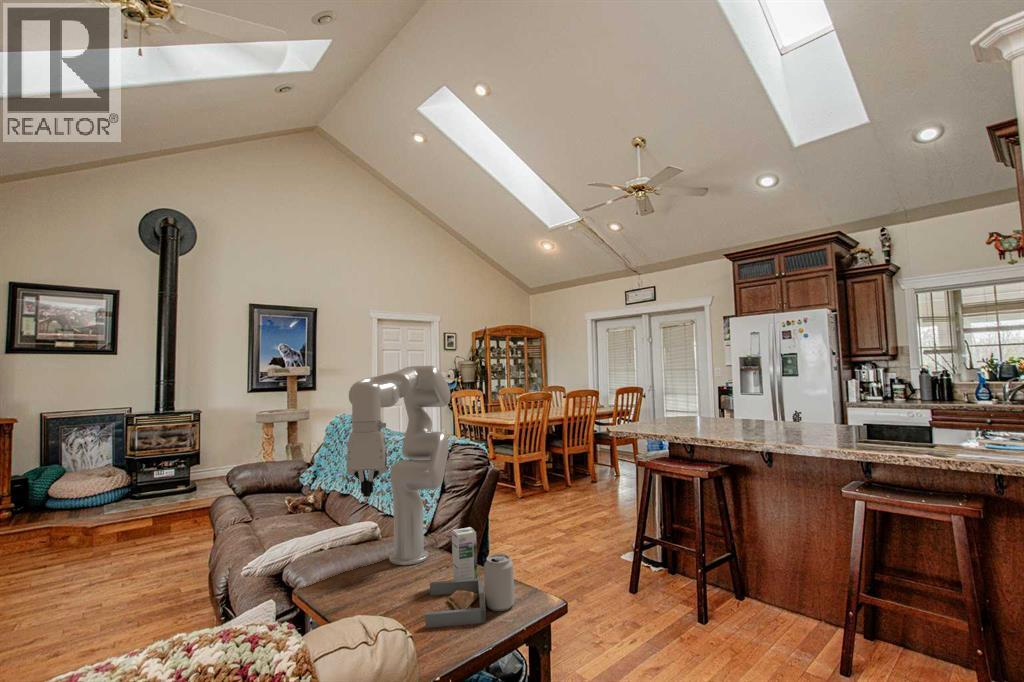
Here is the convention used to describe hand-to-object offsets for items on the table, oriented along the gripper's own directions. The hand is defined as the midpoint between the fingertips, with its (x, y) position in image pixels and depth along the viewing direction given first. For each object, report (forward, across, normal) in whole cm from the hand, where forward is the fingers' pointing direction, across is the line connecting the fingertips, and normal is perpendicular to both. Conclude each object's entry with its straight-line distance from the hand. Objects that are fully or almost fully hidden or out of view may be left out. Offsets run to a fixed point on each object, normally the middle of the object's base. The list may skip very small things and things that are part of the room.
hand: (367, 495), depth 132 cm
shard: (+28, -26, +7) cm, 39 cm away
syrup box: (+27, -26, -6) cm, 38 cm away
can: (+27, -35, +10) cm, 45 cm away
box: (+27, -24, +9) cm, 37 cm away
